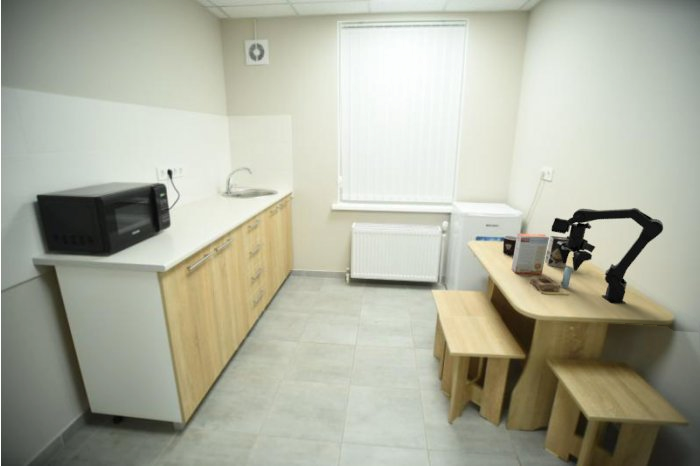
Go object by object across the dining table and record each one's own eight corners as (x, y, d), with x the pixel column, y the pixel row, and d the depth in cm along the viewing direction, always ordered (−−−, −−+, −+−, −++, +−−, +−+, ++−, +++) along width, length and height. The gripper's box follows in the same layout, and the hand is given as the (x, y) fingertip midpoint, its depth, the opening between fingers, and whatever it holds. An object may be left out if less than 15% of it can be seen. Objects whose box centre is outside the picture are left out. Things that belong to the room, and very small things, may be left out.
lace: (568, 294, 155) (568, 293, 155) (541, 293, 156) (541, 292, 156) (563, 290, 159) (564, 289, 159) (537, 289, 160) (537, 288, 160)
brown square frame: (558, 292, 158) (559, 285, 157) (538, 291, 158) (540, 284, 157) (548, 283, 166) (549, 277, 165) (529, 283, 167) (531, 276, 166)
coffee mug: (498, 251, 210) (500, 236, 208) (507, 250, 214) (510, 235, 211) (513, 258, 200) (516, 242, 197) (523, 256, 204) (526, 240, 201)
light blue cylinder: (569, 288, 162) (574, 269, 159) (563, 288, 162) (567, 268, 160) (566, 285, 165) (570, 266, 162) (559, 285, 165) (564, 266, 162)
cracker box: (536, 270, 183) (544, 233, 177) (542, 274, 177) (549, 237, 171) (510, 269, 184) (517, 232, 178) (514, 273, 178) (521, 236, 172)
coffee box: (548, 265, 190) (553, 238, 185) (544, 261, 196) (550, 235, 191) (565, 267, 188) (572, 240, 183) (561, 263, 194) (567, 236, 189)
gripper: (608, 242, 147) (599, 275, 151) (582, 230, 165) (575, 260, 169) (581, 241, 147) (574, 274, 152) (558, 230, 165) (552, 259, 170)
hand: (569, 266), depth 161 cm, fingers open, 9 cm apart
